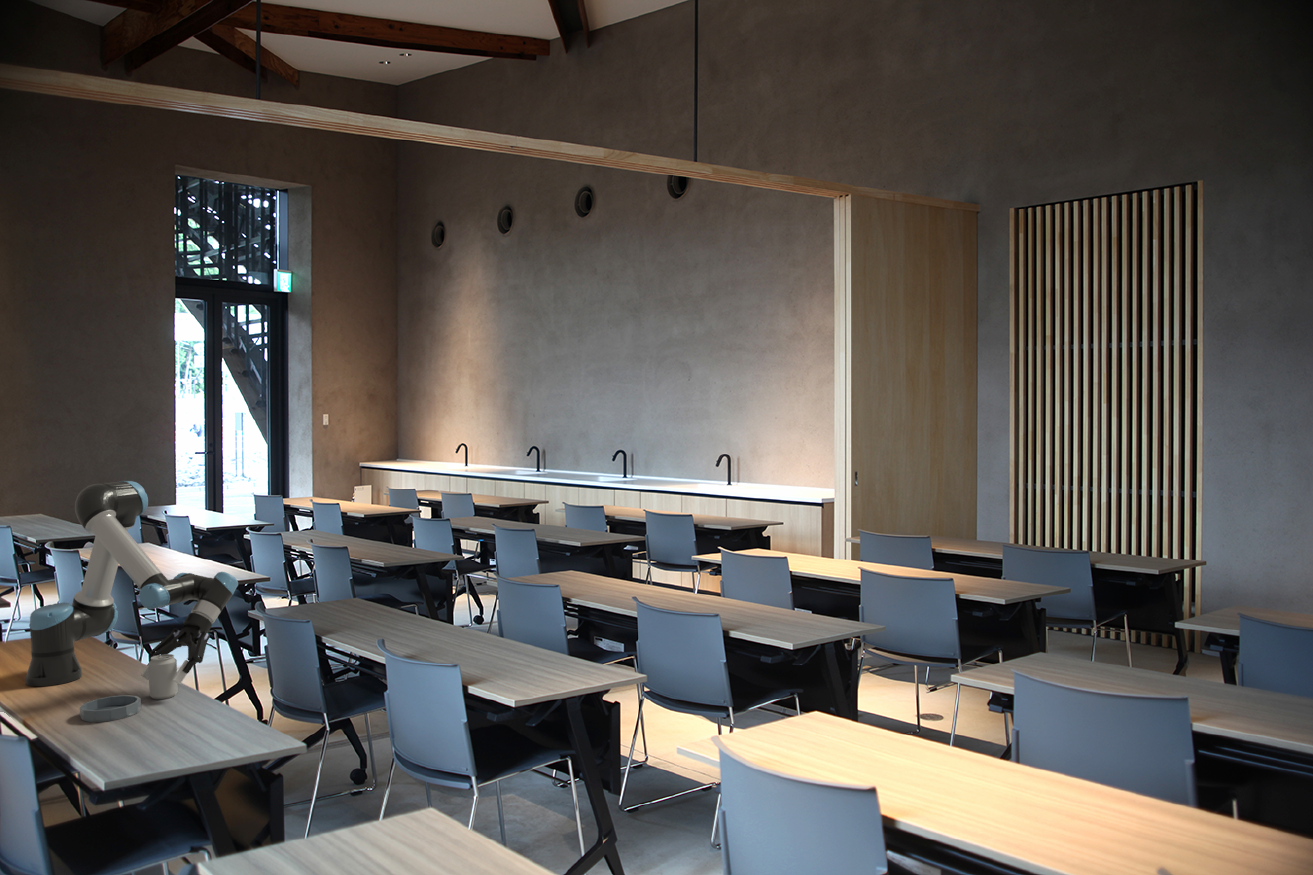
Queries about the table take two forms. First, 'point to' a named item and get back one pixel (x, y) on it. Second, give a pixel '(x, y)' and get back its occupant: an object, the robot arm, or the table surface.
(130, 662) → the table surface
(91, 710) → the dish
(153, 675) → the can
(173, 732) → the table surface
